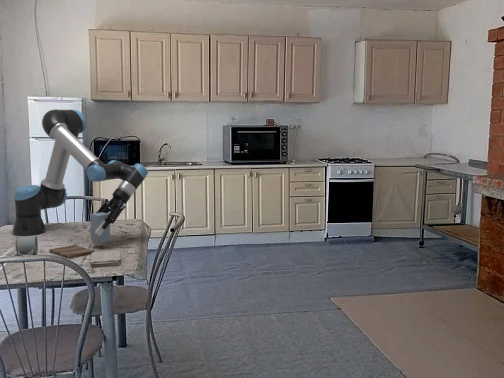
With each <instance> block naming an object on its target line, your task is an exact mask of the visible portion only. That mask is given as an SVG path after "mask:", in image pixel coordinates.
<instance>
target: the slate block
mask: <svg viewBox="0 0 504 378" xmlns="http://www.w3.org/2000/svg"><path fill="white" fill-rule="evenodd" d="M108 215H109V213H108V214H107V213H103V212H100V213H96V212H94V213H90V214H89V218H90V220H89V221H90V225H91V233H90V241H92V242H96V243H102V242H103V243H104V242H108V241H111V226H110V225H111V224H109V225H108V226H107V228H106V229H105V230H104V231H103V233H102V234H101V235H100V236H98V235H97V234H96V233H95V231H96V230H97V229H98V228H99V226H100V225H101V224H102V222H103V221H105V220H104V219H106V218H107V216H108Z"/></svg>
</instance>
